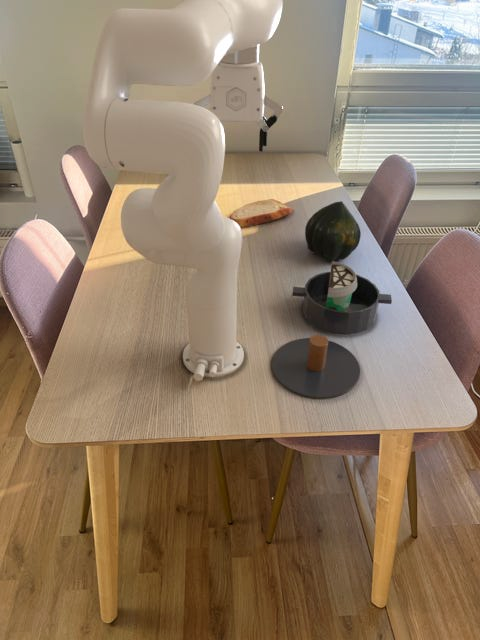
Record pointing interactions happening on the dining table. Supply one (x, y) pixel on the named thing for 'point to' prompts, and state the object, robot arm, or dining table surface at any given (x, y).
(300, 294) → the pot
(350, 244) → the squash
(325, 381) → the lid
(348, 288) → the food container
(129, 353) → the dining table surface
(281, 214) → the bread slice
